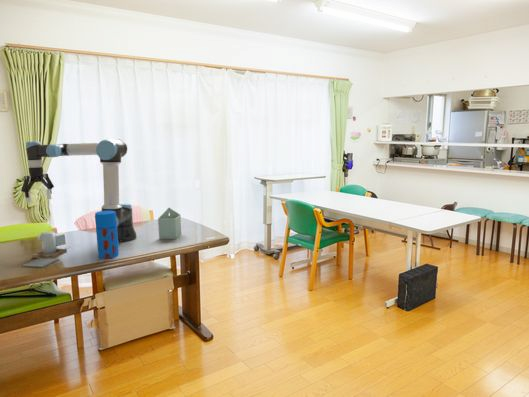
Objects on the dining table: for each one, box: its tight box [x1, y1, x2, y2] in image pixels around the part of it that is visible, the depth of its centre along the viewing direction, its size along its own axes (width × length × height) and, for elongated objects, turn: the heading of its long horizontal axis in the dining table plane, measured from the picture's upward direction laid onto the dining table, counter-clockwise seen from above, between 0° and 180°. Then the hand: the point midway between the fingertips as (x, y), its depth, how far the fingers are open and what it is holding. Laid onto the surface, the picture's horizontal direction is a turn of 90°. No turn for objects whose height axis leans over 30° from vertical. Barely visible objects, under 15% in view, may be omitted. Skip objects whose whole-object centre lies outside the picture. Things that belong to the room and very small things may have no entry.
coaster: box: [21, 258, 59, 268], centre depth 200 cm, size 12×12×1 cm
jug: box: [37, 230, 67, 255], centre depth 214 cm, size 13×7×13 cm, turn 140°
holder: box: [31, 248, 68, 259], centre depth 213 cm, size 12×12×2 cm
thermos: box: [94, 210, 120, 260], centre depth 210 cm, size 11×11×25 cm
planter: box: [157, 207, 182, 240], centre depth 246 cm, size 16×8×20 cm, turn 133°
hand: (39, 201), depth 233 cm, fingers open, 13 cm apart
